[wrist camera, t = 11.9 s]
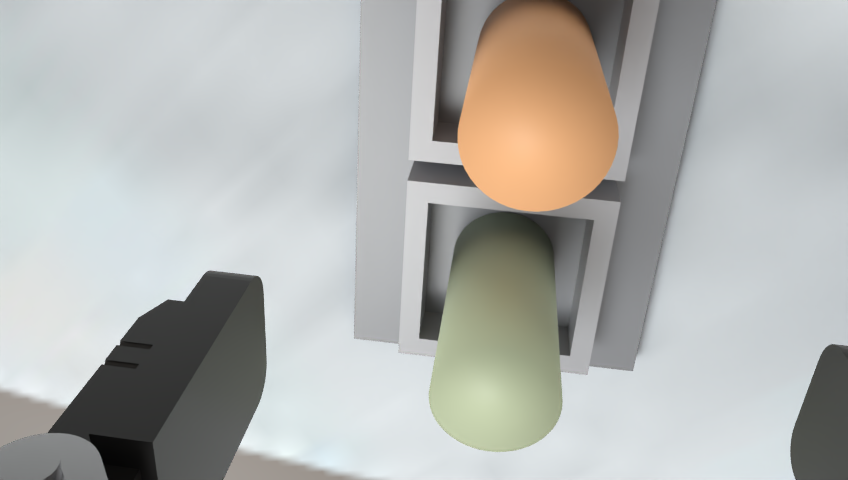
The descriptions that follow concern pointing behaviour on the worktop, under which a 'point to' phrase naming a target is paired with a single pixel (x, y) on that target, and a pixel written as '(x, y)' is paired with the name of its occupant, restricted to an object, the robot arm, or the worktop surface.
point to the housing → (464, 202)
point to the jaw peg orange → (537, 108)
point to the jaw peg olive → (499, 337)
